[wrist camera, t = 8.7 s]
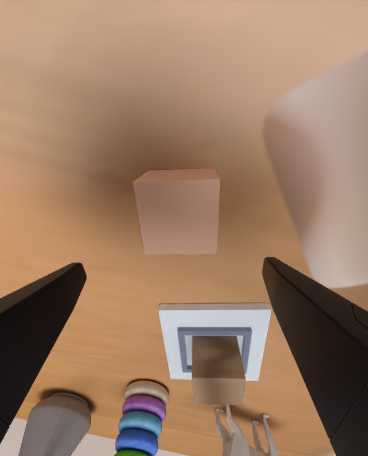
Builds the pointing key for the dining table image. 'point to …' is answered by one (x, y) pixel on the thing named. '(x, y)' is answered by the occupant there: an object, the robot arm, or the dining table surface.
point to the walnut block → (217, 370)
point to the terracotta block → (178, 211)
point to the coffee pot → (56, 426)
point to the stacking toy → (141, 419)
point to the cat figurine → (243, 438)
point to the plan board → (214, 332)
